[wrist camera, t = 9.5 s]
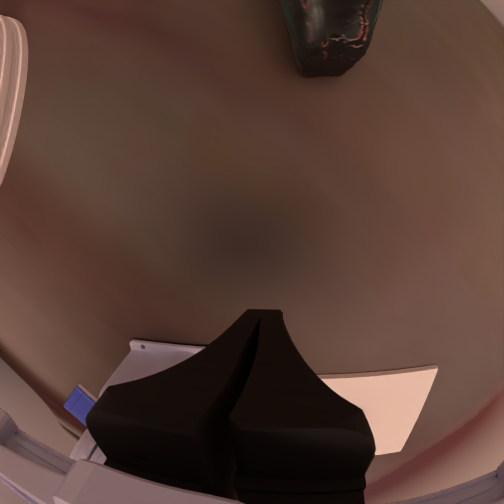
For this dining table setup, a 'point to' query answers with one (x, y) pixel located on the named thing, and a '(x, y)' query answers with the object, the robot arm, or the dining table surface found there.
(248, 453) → the robot arm
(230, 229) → the dining table surface
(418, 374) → the beige mat
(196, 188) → the dining table surface
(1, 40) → the plate stack
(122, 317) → the dining table surface
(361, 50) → the green elephant figurine
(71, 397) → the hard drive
